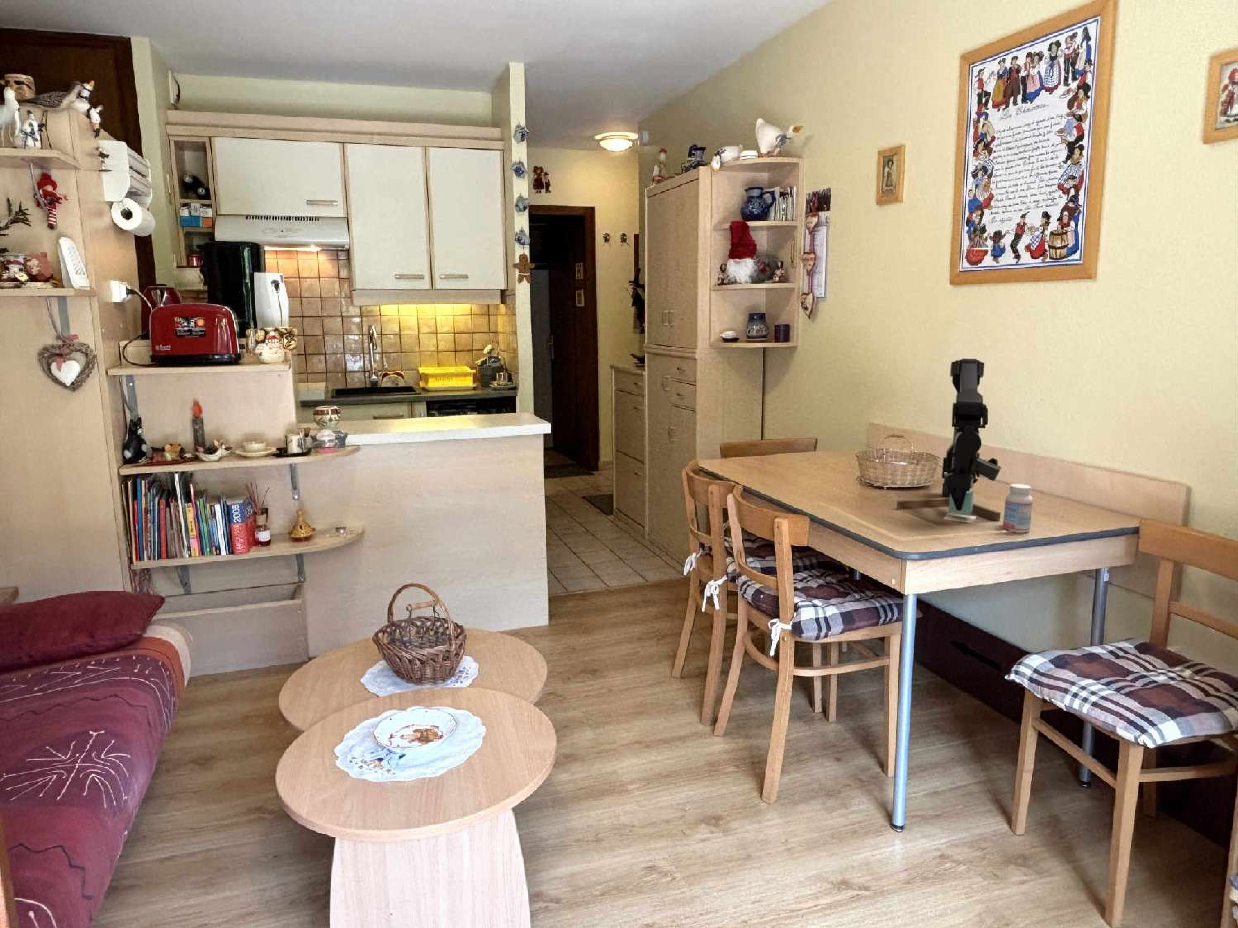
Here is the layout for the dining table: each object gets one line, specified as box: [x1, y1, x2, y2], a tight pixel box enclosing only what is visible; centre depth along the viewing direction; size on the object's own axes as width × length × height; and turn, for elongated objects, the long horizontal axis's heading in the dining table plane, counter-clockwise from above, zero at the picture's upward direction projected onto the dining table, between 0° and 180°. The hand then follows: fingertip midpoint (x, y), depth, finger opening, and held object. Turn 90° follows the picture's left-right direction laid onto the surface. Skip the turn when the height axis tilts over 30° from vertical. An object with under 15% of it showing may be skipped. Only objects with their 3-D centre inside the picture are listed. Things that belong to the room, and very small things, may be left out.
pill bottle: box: [1002, 483, 1034, 534], centre depth 203 cm, size 6×6×11 cm
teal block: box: [949, 491, 975, 515], centre depth 212 cm, size 5×5×5 cm
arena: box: [896, 497, 1001, 526], centre depth 216 cm, size 18×18×3 cm
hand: (960, 508), depth 212 cm, fingers closed on teal block, 5 cm apart
